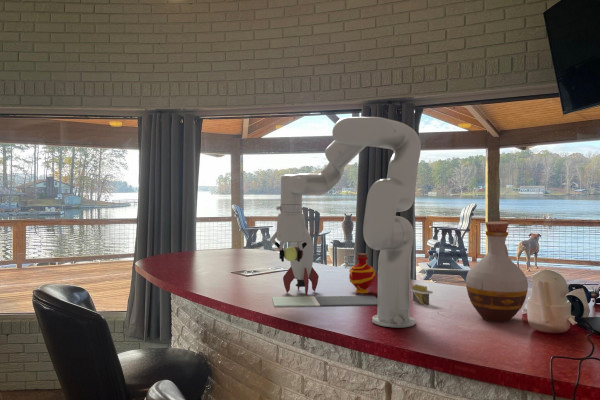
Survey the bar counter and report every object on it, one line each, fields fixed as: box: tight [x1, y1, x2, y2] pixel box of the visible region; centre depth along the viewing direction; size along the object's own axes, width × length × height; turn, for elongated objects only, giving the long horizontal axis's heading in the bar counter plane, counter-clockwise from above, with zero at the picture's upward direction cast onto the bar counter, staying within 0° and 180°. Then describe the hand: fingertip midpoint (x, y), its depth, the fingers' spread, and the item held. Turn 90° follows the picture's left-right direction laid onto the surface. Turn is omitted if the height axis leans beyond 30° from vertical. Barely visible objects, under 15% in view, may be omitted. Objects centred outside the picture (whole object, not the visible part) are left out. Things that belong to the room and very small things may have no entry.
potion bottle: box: [348, 252, 376, 294], centre depth 190 cm, size 10×10×15 cm
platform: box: [410, 284, 434, 306], centre depth 171 cm, size 12×18×7 cm, turn 30°
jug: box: [465, 221, 529, 323], centre depth 150 cm, size 20×18×30 cm
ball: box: [283, 246, 298, 262], centre depth 170 cm, size 5×5×5 cm
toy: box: [282, 225, 319, 297], centre depth 187 cm, size 11×11×30 cm
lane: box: [271, 295, 378, 308], centre depth 171 cm, size 14×38×1 cm, turn 96°
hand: (290, 260), depth 170 cm, fingers closed on ball, 5 cm apart
